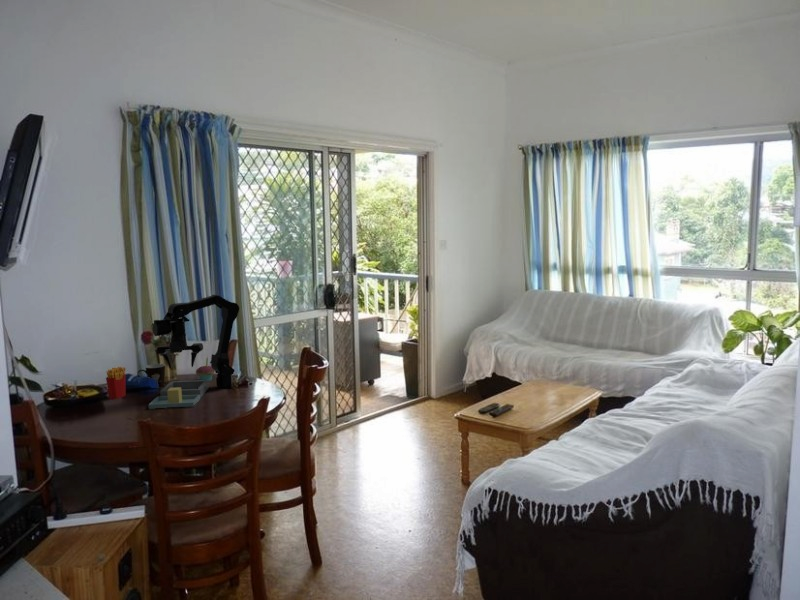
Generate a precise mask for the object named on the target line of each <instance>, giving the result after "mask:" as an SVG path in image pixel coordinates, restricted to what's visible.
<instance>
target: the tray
mask: <svg viewBox="0 0 800 600" xmlns="http://www.w3.org/2000/svg"><path fill="white" fill-rule="evenodd" d="M200 400H201V397H200V395H182V402H181V403H168V396H160V395H159V396H156V397H155V398H153V400H152V401H151V402H150V403H149V404H148V410H156V409H155V408H165V409H168V408H167V407H186V408H193V407H192V406H194V405H195V404H196V403H197V402H199V401H200ZM197 404H198V403H197ZM197 404H196V405H197ZM196 405H195V406H196ZM195 406H194V407H195Z"/></svg>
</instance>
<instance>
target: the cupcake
mask: <svg viewBox="0 0 800 600" xmlns="http://www.w3.org/2000/svg"><path fill="white" fill-rule="evenodd" d="M208 357H209V356H208V355H207V357H206V362H205V365H202V366H199V367H198V368H197V369H196V371H195V374H196V375H198V377H199V379H200V380H209V382H211V381H212V378H213V375H214V373H215V370H214V369H213V368H212V367H211V365H208V363H209V358H208Z"/></svg>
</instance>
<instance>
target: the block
mask: <svg viewBox="0 0 800 600" xmlns="http://www.w3.org/2000/svg"><path fill="white" fill-rule="evenodd" d="M181 390H182V389H181V387H177V388H170V389H168V390H167V394H168V403H181V402H182V391H181Z"/></svg>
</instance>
